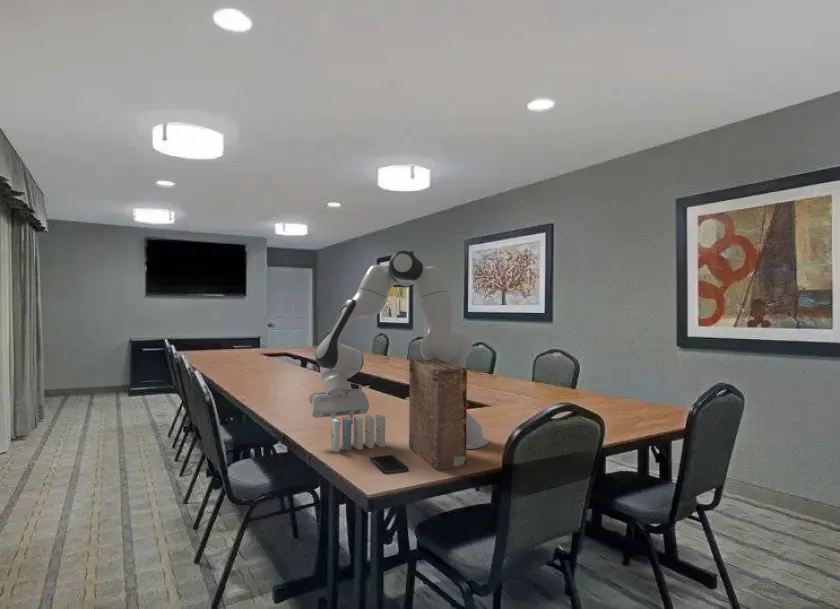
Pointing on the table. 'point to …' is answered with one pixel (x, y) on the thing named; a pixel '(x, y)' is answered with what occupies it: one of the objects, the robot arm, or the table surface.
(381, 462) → the phone
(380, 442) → the domino
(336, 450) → the domino
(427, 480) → the table surface
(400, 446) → the table surface
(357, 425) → the domino
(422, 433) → the book
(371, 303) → the robot arm
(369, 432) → the domino
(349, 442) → the domino
